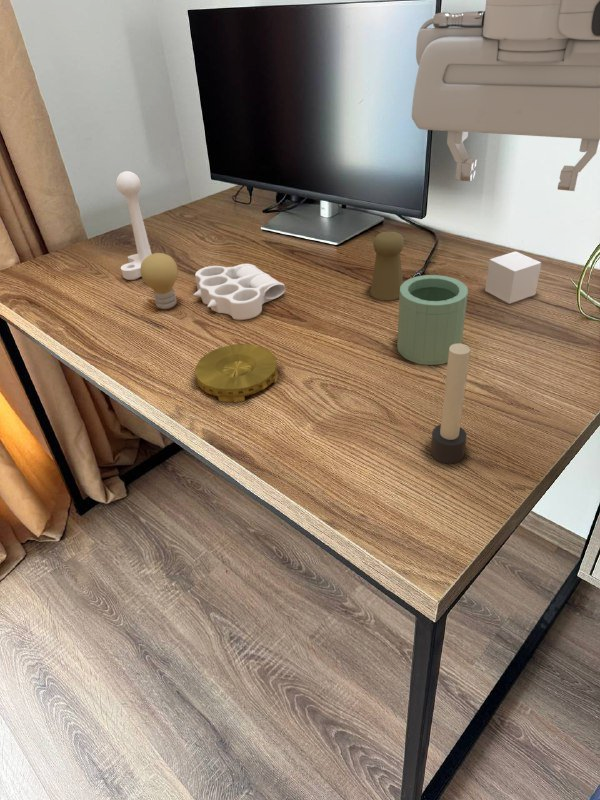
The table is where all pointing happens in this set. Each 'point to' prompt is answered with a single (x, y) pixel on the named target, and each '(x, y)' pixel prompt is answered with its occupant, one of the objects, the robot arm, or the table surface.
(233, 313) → the white brass knuckles
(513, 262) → the white cube
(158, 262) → the light bulb
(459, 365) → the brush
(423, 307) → the jar
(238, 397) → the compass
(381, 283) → the brown pawn
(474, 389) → the table surface
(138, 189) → the joystick
